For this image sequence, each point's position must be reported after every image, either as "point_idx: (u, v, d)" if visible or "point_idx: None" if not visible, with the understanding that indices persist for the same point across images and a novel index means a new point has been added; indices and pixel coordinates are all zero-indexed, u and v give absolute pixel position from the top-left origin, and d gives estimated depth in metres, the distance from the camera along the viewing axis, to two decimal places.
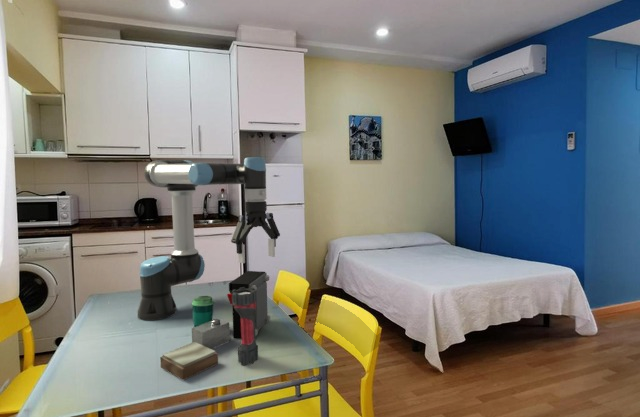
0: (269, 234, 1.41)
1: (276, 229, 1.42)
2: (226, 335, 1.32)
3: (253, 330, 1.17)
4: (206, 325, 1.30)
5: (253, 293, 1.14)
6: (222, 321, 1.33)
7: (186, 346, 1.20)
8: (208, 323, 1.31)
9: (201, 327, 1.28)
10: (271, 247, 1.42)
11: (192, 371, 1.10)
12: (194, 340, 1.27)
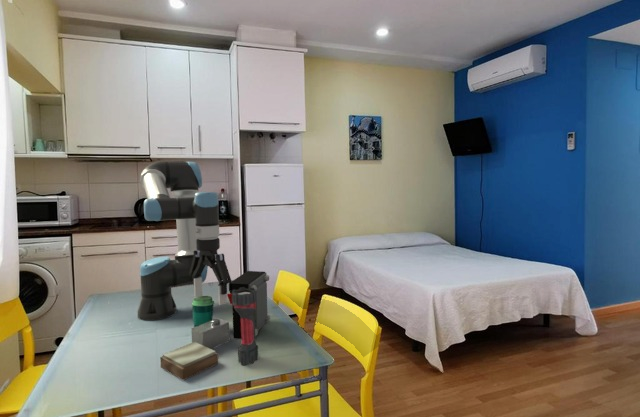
0: None
1: (221, 275, 1.22)
2: (226, 335, 1.32)
3: (253, 330, 1.17)
4: (206, 325, 1.30)
5: (253, 293, 1.14)
6: (222, 321, 1.33)
7: (186, 346, 1.20)
8: (208, 323, 1.31)
9: (201, 327, 1.28)
10: None
11: (192, 371, 1.10)
12: (194, 340, 1.27)
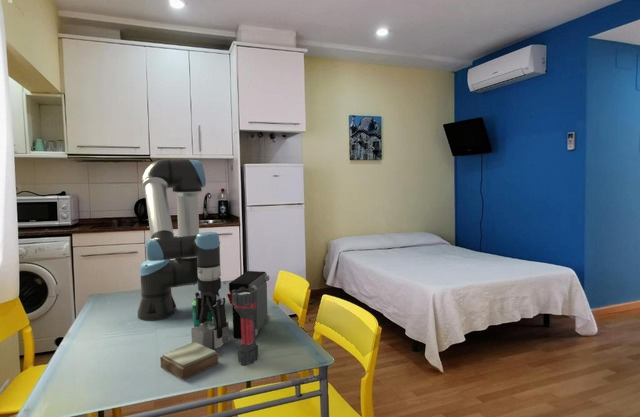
0: None
1: (218, 319, 1.25)
2: (225, 335, 1.32)
3: (253, 330, 1.17)
4: (206, 325, 1.30)
5: (253, 293, 1.14)
6: None
7: (186, 346, 1.20)
8: (207, 323, 1.31)
9: (201, 327, 1.28)
10: None
11: (192, 371, 1.10)
12: (194, 340, 1.27)
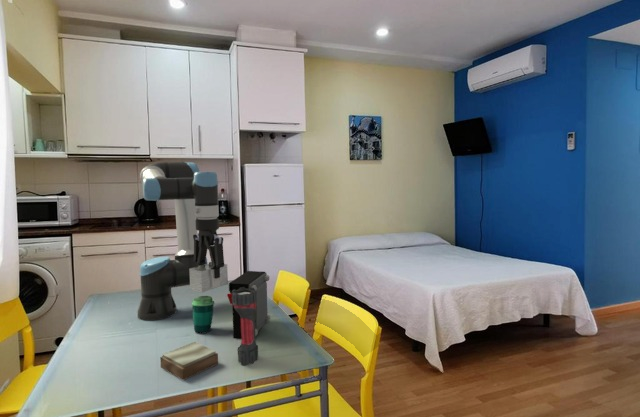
0: None
1: (216, 258, 1.23)
2: (224, 277, 1.30)
3: (253, 330, 1.17)
4: (204, 266, 1.28)
5: (253, 293, 1.14)
6: None
7: (186, 346, 1.20)
8: (205, 265, 1.30)
9: (199, 268, 1.26)
10: None
11: (192, 371, 1.10)
12: (192, 281, 1.25)
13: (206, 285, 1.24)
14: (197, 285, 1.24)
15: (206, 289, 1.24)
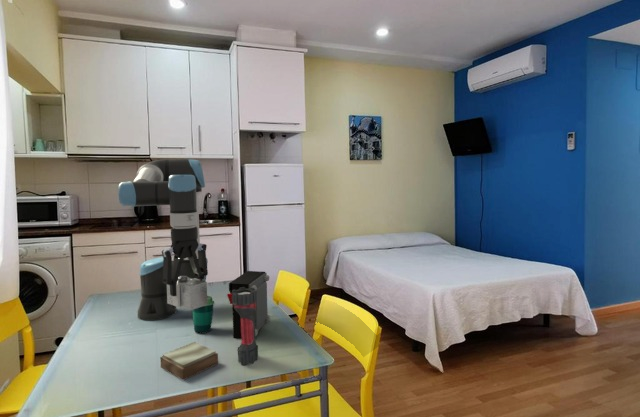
0: (195, 271, 1.16)
1: (205, 266, 1.17)
2: None
3: (253, 330, 1.17)
4: (186, 282, 1.12)
5: (253, 293, 1.14)
6: None
7: (186, 346, 1.20)
8: (179, 282, 1.12)
9: (191, 283, 1.11)
10: None
11: (192, 371, 1.10)
12: (194, 298, 1.10)
13: None
14: (201, 300, 1.12)
15: None
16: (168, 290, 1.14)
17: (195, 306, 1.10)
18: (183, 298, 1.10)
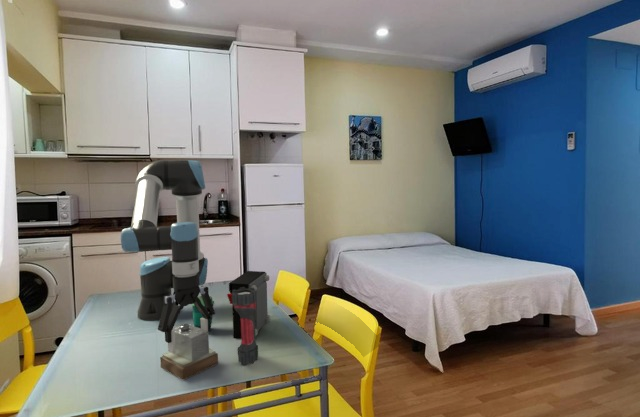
0: (201, 313, 1.19)
1: (211, 306, 1.20)
2: None
3: (253, 330, 1.17)
4: (188, 332, 1.14)
5: (253, 293, 1.14)
6: None
7: None
8: (181, 332, 1.14)
9: (192, 333, 1.13)
10: (204, 329, 1.19)
11: (192, 371, 1.10)
12: (195, 349, 1.11)
13: None
14: (202, 350, 1.13)
15: None
16: None
17: (197, 356, 1.12)
18: (185, 349, 1.12)
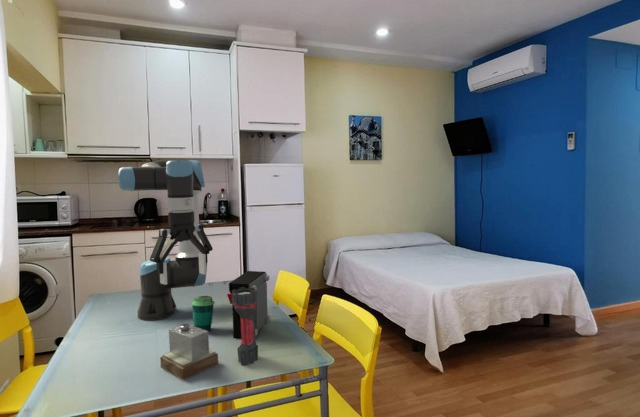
0: (199, 248, 1.22)
1: (208, 242, 1.23)
2: None
3: (253, 330, 1.17)
4: (188, 332, 1.14)
5: (253, 293, 1.14)
6: None
7: None
8: (181, 332, 1.14)
9: (192, 333, 1.13)
10: (202, 263, 1.23)
11: (192, 371, 1.10)
12: (195, 349, 1.11)
13: None
14: (202, 350, 1.13)
15: None
16: (170, 339, 1.16)
17: (197, 356, 1.12)
18: (185, 349, 1.12)
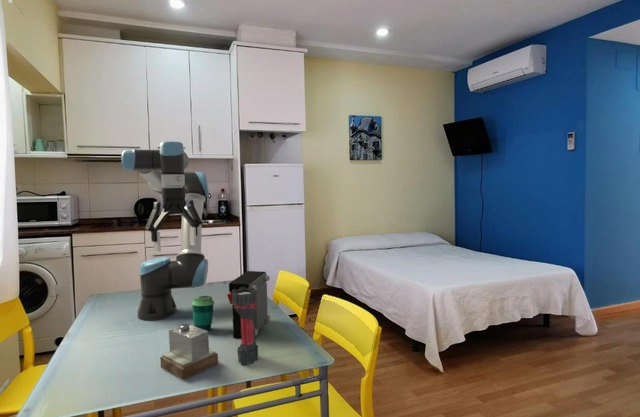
0: (190, 222, 1.37)
1: (197, 217, 1.38)
2: None
3: (253, 330, 1.17)
4: (188, 332, 1.14)
5: (253, 293, 1.14)
6: None
7: None
8: (181, 332, 1.14)
9: (192, 333, 1.13)
10: (192, 236, 1.37)
11: (192, 371, 1.10)
12: (195, 349, 1.11)
13: None
14: (202, 350, 1.13)
15: None
16: (170, 339, 1.16)
17: (197, 356, 1.12)
18: (185, 349, 1.12)
